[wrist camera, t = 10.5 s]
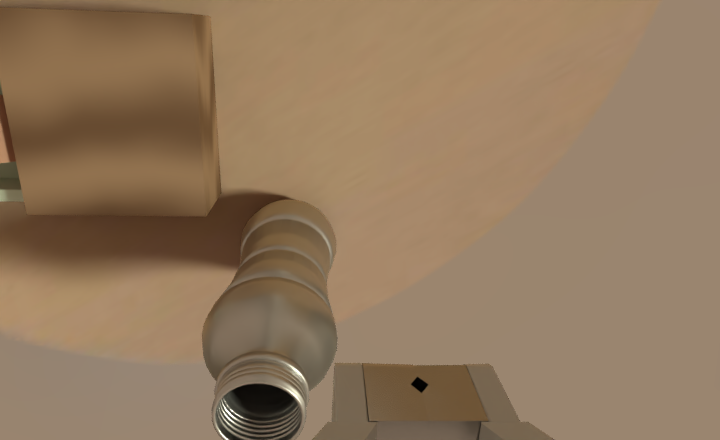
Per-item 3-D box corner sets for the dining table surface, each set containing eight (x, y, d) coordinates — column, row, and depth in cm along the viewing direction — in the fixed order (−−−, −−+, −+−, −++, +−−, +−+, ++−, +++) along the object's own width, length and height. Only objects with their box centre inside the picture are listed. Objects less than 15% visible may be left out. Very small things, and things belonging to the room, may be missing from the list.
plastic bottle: (329, 275, 41) (332, 486, 22) (241, 265, 40) (167, 474, 21) (341, 197, 39) (357, 357, 20) (249, 185, 38) (175, 338, 19)
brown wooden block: (33, 9, 33) (-15, 6, 28) (210, 16, 34) (191, 14, 29) (64, 191, 37) (26, 214, 32) (221, 193, 38) (206, 216, 33)
